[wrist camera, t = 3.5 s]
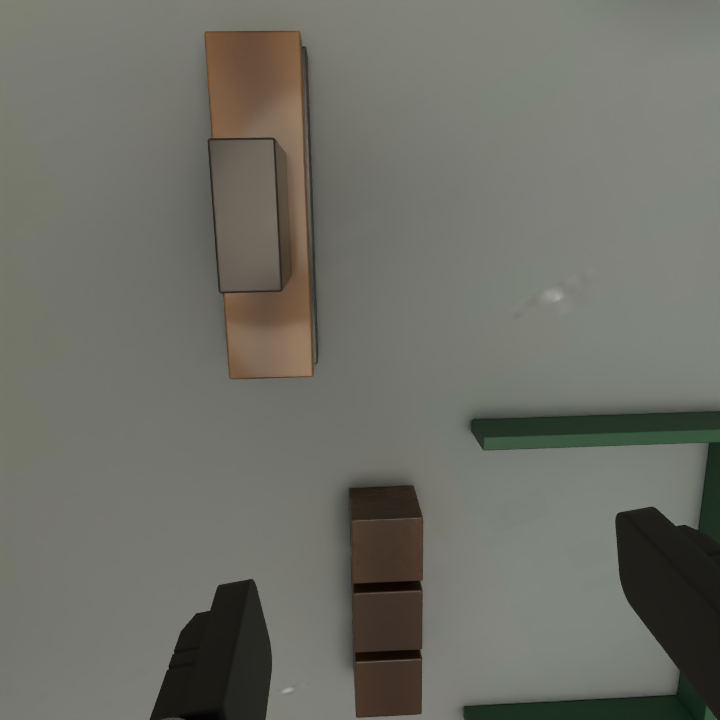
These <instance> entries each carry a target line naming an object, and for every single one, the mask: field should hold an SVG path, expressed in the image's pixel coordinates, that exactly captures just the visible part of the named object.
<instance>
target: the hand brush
mask: <svg viewBox="0 0 720 720" xmlns="http://www.w3.org/2000/svg"><path fill="white" fill-rule="evenodd" d="M205 48H206V62H207V76H208V89H209V103H210V117H211V131H212V138H210V139H208V152H209V165H210V179H211V192H212V206H213V219H214V233H215V246H216V260H217V273H218V287H219V292H220V293H223V296H224V310H225V324H226V338H227V352H228V365H229V378H230V379H257V378H291V377H312V376H313V374H314V364H317V363H318V335H317V307H316V279H315V251H314V223H313V195H312V167H311V139H310V111H309V83H308V57H307V50H306V47H305V46H302V40H301V34H300V32H299V31H212V32H205Z"/></svg>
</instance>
